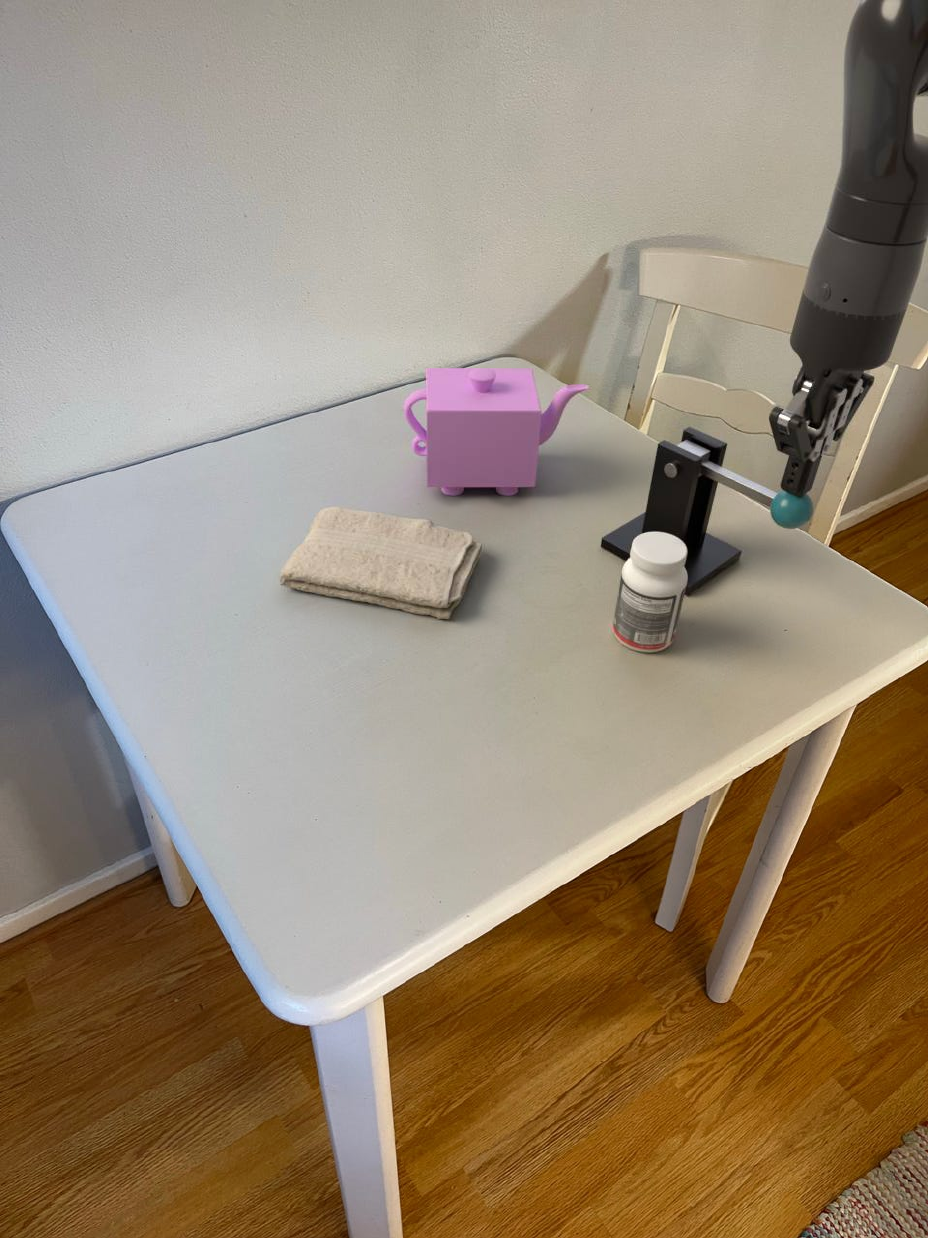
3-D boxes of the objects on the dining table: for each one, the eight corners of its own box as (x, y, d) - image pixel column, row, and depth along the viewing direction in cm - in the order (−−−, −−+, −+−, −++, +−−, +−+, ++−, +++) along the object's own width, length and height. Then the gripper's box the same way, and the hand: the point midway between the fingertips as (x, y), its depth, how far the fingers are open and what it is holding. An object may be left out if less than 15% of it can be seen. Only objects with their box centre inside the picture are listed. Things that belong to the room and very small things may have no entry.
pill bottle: (637, 606, 86) (653, 519, 79) (686, 635, 83) (708, 547, 76) (598, 633, 83) (613, 545, 76) (648, 664, 80) (668, 575, 73)
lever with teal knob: (814, 526, 81) (826, 492, 78) (793, 541, 79) (804, 507, 76) (684, 464, 88) (692, 431, 86) (662, 476, 86) (669, 443, 84)
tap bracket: (739, 560, 92) (770, 449, 84) (687, 596, 87) (714, 483, 79) (653, 515, 98) (674, 407, 90) (600, 547, 93) (616, 436, 85)
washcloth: (456, 625, 83) (457, 599, 81) (275, 592, 86) (271, 566, 84) (485, 552, 92) (486, 527, 90) (320, 524, 95) (317, 500, 93)
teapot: (404, 499, 99) (402, 394, 91) (405, 452, 107) (403, 352, 99) (584, 498, 100) (597, 395, 92) (572, 452, 108) (583, 353, 100)
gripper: (859, 331, 62) (792, 538, 73) (943, 286, 69) (871, 481, 80) (764, 299, 66) (715, 500, 77) (853, 260, 73) (796, 449, 84)
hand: (794, 490), depth 78 cm, fingers closed
